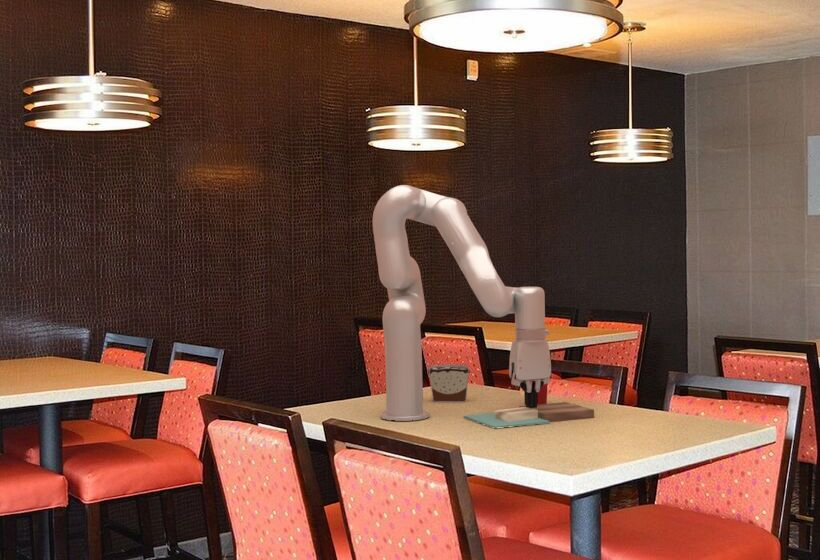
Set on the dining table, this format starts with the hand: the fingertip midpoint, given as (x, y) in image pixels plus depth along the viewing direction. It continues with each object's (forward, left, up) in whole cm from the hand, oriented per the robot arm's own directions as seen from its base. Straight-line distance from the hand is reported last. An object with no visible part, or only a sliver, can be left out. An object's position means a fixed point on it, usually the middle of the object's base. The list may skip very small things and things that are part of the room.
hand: (531, 407), depth 264 cm
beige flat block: (+1, -5, -1) cm, 5 cm away
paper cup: (-16, +10, -3) cm, 19 cm away
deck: (0, +7, -3) cm, 8 cm away
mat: (0, -7, -3) cm, 8 cm away
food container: (-37, -6, -3) cm, 38 cm away
